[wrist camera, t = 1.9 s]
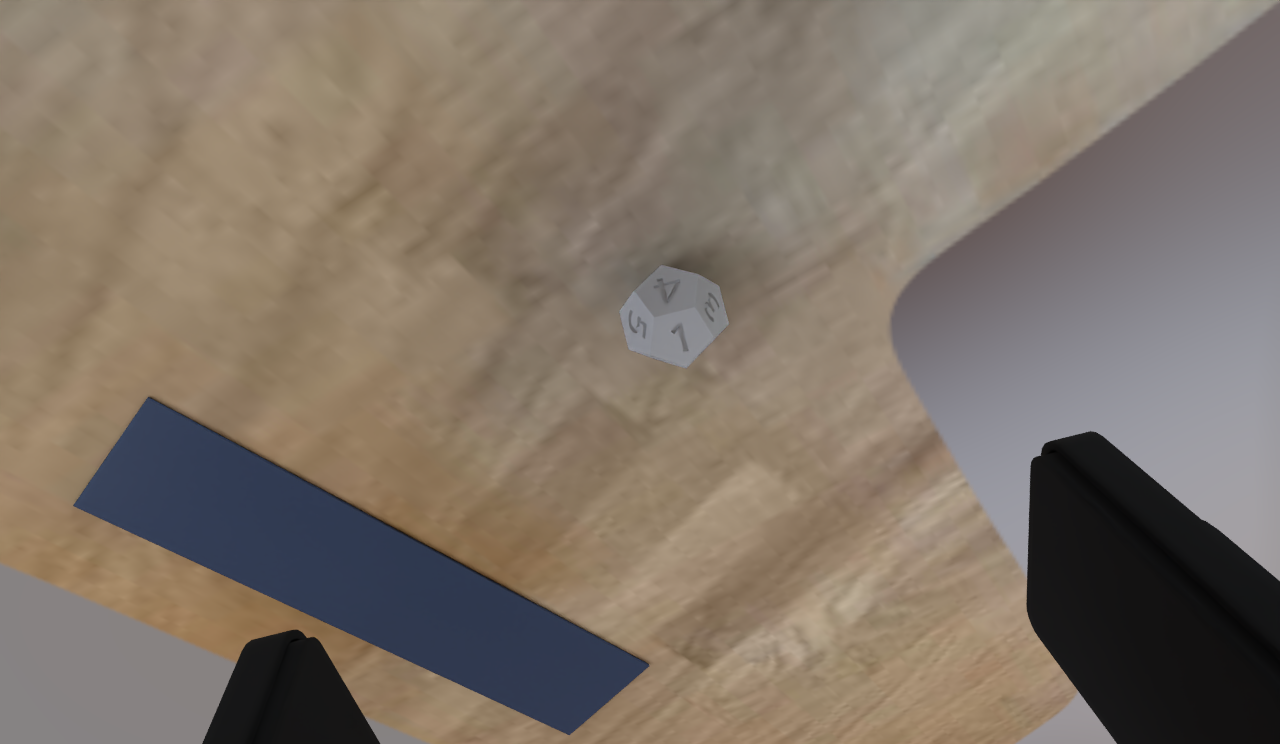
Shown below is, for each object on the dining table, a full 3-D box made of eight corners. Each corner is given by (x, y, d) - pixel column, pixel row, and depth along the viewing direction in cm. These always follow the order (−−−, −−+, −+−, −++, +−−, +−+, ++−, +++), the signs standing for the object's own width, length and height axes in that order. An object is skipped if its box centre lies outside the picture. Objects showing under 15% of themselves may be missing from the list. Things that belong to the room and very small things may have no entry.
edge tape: (148, 396, 28) (147, 398, 28) (649, 664, 37) (649, 666, 37) (74, 504, 30) (73, 505, 30) (569, 733, 39) (569, 735, 39)
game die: (632, 356, 29) (640, 397, 26) (608, 265, 27) (614, 300, 25) (724, 332, 29) (742, 372, 26) (706, 239, 27) (723, 272, 25)
